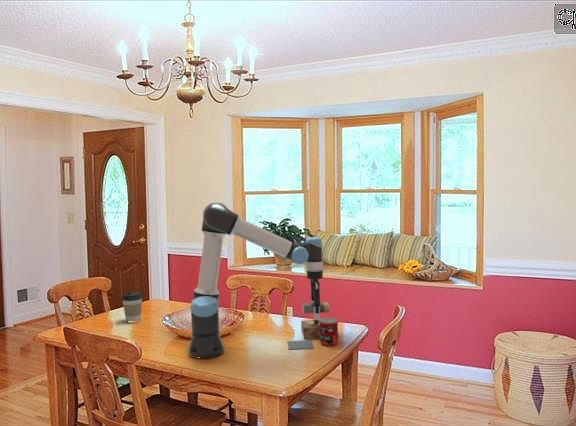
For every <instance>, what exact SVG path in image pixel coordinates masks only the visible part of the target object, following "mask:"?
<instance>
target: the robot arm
mask: <svg viewBox="0 0 576 426" xmlns="http://www.w3.org/2000/svg"><path fill="white" fill-rule="evenodd" d="M201 233H202V234H203V235H204V236H203V244H202V251H201V260H200V266H199V273H198V275H199V276H198V280H197V281H198V282H197V287H196V288H194V290H193V295H192V300H191V302H190V317H191V318H190V319H191V320H190V321H191V338H190V343H189V346H188V355H189V354H190V355H191V356H194V357H200V358H206V359H211V358H210V357H213V358H216V357H215V356H217V357H219V356H222V355H223V354H224V352H225V345H224V343H223V340H222V338H221V334H220V314H219V311H220V310H219V309H220V306H219V305H220V304H219V300H220V291H219V290H218V282H219V273H220V267H221V266H220V265H221V257H222V250H223V244H224V243H223V241H224V237H225V236H227V235H228V236H232V235H234V236H236V237H239V238H241V239H243V240H246V241H248V242H249V243H252V244H254V245H256V246H258V247H261V248H263V249H265V250H268V251H270V252H271V253H274V254H277V255H279V256H280V257H281V259H283V260H289V261H291V262H293V263H295V264H297V265H303V264H305V263H306V265H305V267H306V279H308V280H310V283H309V284H310V298H311V299H310V300H311V303H314V305H313V307H314V313H311V315H313V320H320V319H321V313H320V303H321V295H320V294H321V292H320V291H321V290H320V281H319V280H321V279H323V278H324V277H323V276H324V275H323V273H324V272H323V265H324V262H323V243H322V242H323V241H322V238H321V237H318V236H317V237H316V236H312V237H311V236H310V237H306V238H305V241H304V242H293V241H290V240H289V239H286V238H285V237H282V236H279V235H277V234H275V233H273V232H271V231H270V230H267V229H264V228H262V227H260V226H258V225H255V224H253V223H251V222H249V221H247V220H246V219H243V218H241V216H240V215H239V214H238V213H236V212H233V211H232V210H231V209H229V208H228V207H227V205H226V204H224V203H222V202H210V203H209V204H207V206H206V207H205V208H204V210H203V213H202V223H201ZM222 353H223V354H222ZM218 355H219V356H218ZM191 356H190V357H191Z"/></svg>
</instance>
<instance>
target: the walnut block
mask: <svg viewBox="0 0 576 426" xmlns="http://www.w3.org/2000/svg"><path fill="white" fill-rule="evenodd" d="M300 324H301V329H300V330H301V333H302V337H303V340H313V339H314V340H315V339H316V340H317V339H320V320H318V323H314V319H313V320H312V319H311V320H310V319H309V320H301V323H300Z"/></svg>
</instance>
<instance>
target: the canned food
mask: <svg viewBox="0 0 576 426" xmlns="http://www.w3.org/2000/svg"><path fill="white" fill-rule="evenodd" d="M338 326H339V322H338V318H336V317H322V318H320V338H319V339H320V344H321V346H323V347H334V346H335V347H336V346H337V345H338V344H339V328H338Z"/></svg>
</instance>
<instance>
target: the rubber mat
mask: <svg viewBox="0 0 576 426" xmlns="http://www.w3.org/2000/svg"><path fill="white" fill-rule="evenodd" d="M286 343H287V348H288V351H293V350H295V351H297V350H299V351H300V350H314V349H315V347H314V345H313V341H312V339H303V340H287V341H286Z"/></svg>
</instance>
